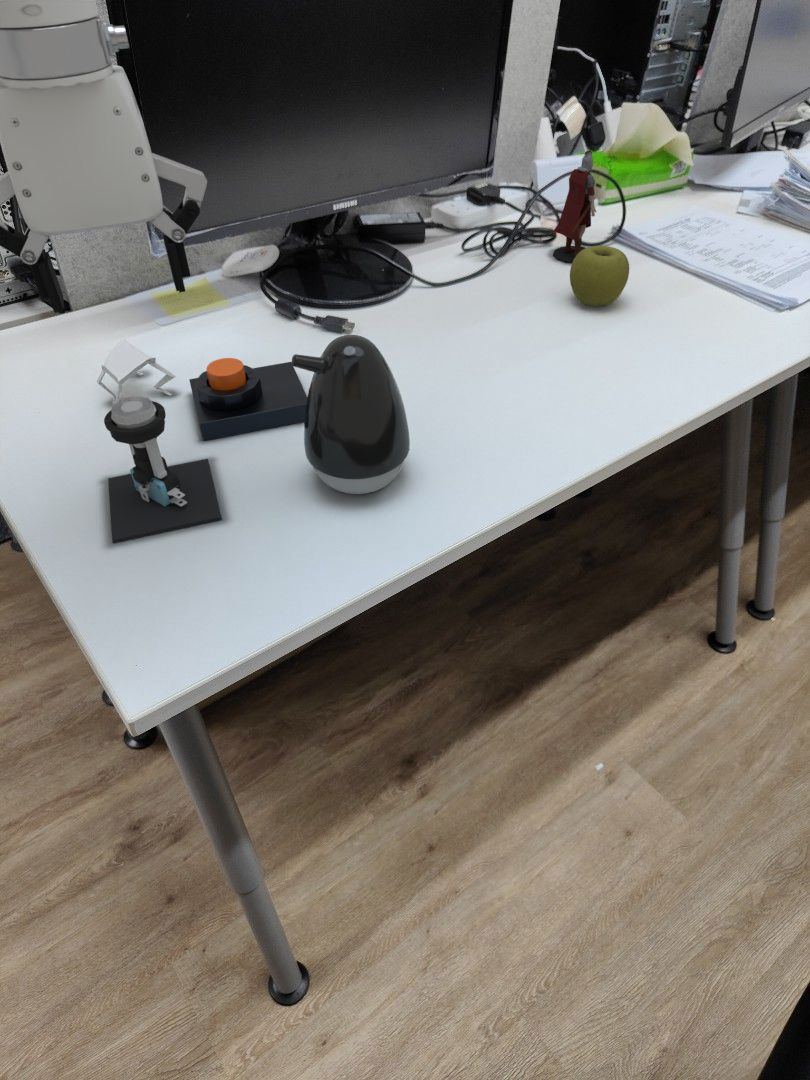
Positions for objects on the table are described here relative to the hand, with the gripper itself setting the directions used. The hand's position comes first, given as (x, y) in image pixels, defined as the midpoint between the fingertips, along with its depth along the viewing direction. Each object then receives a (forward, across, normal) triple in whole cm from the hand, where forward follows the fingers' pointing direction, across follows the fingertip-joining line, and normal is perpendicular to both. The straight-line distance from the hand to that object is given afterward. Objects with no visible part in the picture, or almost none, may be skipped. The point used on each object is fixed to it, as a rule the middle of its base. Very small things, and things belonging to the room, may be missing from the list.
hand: (120, 295), depth 63 cm
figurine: (+21, -65, -38) cm, 79 cm away
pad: (+20, +1, +2) cm, 20 cm away
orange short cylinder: (+17, -8, -12) cm, 22 cm away
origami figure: (+20, +2, -20) cm, 29 cm away
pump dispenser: (+20, -18, +5) cm, 27 cm away
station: (+20, -10, -12) cm, 26 cm away
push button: (+20, +1, +2) cm, 20 cm away
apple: (+21, -60, -22) cm, 67 cm away
